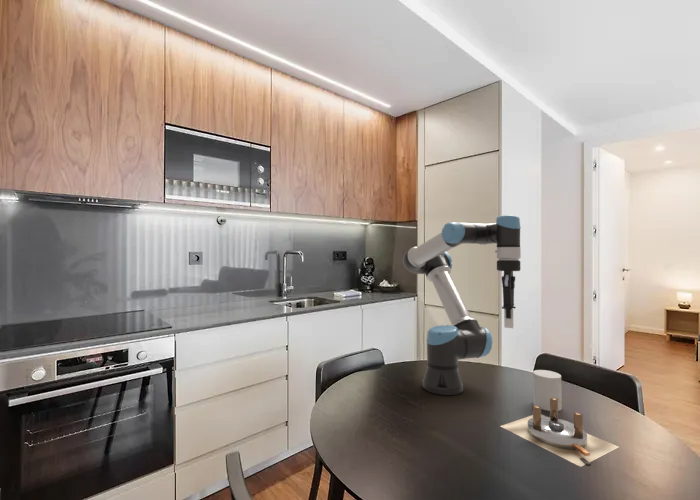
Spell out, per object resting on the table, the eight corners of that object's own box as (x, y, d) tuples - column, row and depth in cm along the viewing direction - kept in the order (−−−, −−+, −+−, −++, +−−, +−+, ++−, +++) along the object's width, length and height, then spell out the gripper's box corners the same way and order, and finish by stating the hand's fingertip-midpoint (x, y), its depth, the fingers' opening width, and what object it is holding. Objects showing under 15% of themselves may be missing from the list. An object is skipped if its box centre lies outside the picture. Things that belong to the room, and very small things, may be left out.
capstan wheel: (559, 459, 82) (559, 427, 83) (517, 423, 101) (517, 396, 101) (614, 457, 83) (614, 425, 84) (562, 421, 102) (562, 395, 102)
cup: (566, 417, 109) (565, 379, 109) (538, 414, 110) (537, 377, 111) (556, 406, 117) (555, 370, 117) (530, 404, 118) (529, 369, 119)
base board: (499, 431, 99) (499, 425, 99) (538, 417, 108) (538, 412, 108) (583, 474, 79) (583, 467, 80) (622, 454, 88) (622, 447, 88)
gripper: (499, 259, 127) (500, 323, 126) (493, 259, 116) (494, 329, 115) (522, 259, 123) (522, 325, 122) (518, 259, 112) (518, 332, 111)
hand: (508, 327), depth 119 cm, fingers closed
